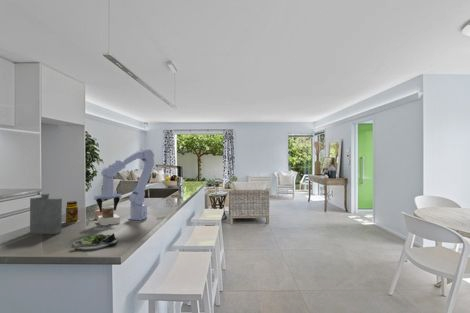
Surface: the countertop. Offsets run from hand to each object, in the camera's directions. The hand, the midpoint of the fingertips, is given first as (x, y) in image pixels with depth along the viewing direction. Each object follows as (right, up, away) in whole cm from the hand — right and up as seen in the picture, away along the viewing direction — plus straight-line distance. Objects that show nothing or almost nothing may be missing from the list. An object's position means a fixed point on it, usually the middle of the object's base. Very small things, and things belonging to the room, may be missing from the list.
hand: (107, 210), depth 166 cm
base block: (0, -7, 0) cm, 7 cm away
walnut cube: (0, -3, 0) cm, 3 cm away
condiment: (-22, -7, +1) cm, 23 cm away
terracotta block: (-10, -7, +11) cm, 17 cm away
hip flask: (-22, -7, -22) cm, 32 cm away
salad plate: (+12, -8, -37) cm, 40 cm away
